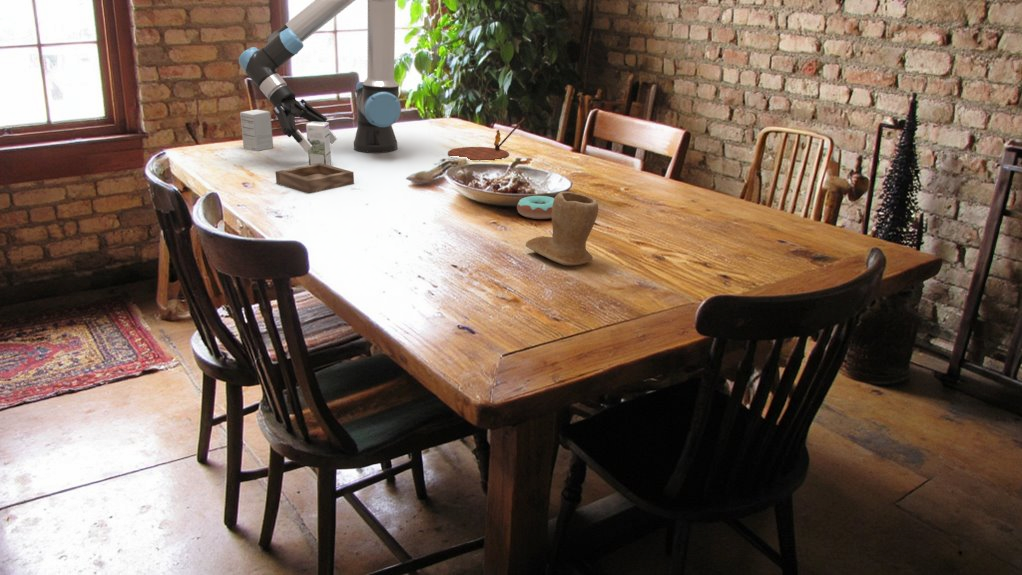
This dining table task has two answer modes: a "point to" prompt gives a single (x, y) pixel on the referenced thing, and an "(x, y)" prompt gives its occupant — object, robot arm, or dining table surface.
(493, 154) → the incense holder
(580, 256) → the brown hollow piece
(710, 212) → the dining table surface
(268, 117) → the supplement box
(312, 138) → the syrup box
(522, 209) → the donut
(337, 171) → the walnut tray
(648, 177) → the dining table surface
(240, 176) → the dining table surface
